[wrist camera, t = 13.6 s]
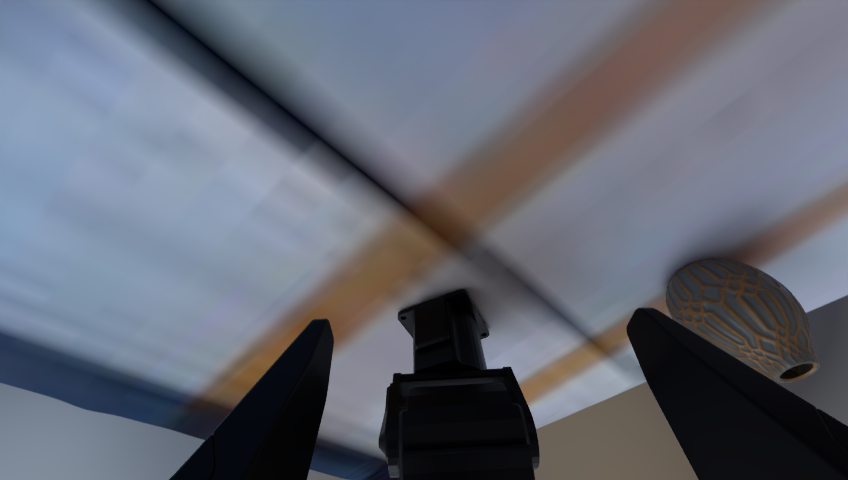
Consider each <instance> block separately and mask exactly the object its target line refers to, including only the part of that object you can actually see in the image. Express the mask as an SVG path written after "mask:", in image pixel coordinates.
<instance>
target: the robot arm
mask: <svg viewBox="0 0 848 480" xmlns="http://www.w3.org/2000/svg"><path fill="white" fill-rule="evenodd" d="M460 295H463V296H460ZM398 320H399V321H400V322H401V324H402V325H403V326H404V327H405V329H406V330H407V331H408V333H409V334H410V335H411V336H412V338H413V355H414V373H413V374H401V373H394V375H393V383H390V386H389V387H388V388H387V395H386V408H385V414H384V418H383V423H382V427H381V431H380V436H379V448H380V449H381V451H382V452H383V453H384V454H385V455H386V462H387V464H388V469H389V476H390V478H395V477H399V479H400V480H535V477H534V469H537V468H538V466H539V445H538V438H537V433H536V428H535V424H534V421H533V417H532V414H531V412H530V409H529V407H528V405H527V403H526V400H525V398H524V396H523V394H522V391H521V389H520V387H519V385H518V382H517V380H516V378H515V376H514V373H513V371H512V369H511V367H503V368H501V369H487V367H486V362H485V358H484V353H483V349H482V344H481V340H480V339H483V338H486V337H488V336H489V331H488V328H487V327H486V325H485V323H484V321H483V319H482V318H481V316H480V314H479V312H478V310H477V309H476V307H475V305H474V303H473V301H472V300H471V298H470V296H469V294H468V292H467V291H466V290H464V289H461V290H457V291H455V292H452V293H449V294H446V295H444V296H441V297H438V298H435V299H433V300H430V301H427V302H424V303H422V304H419V305H416V306H413V307H411V308H408V309H405V310H402V311H400V312H399V313H398ZM627 335H628V337H629V340H630V342H631V344H632V347H633V349H634V352H635V354H636V356H637V359H638V361H639V364H640V366H641V369H642V371H643V373H644V376H645V378H646V380H647V383H648V385H649V387H650V389H651V390H652V393H653V394H654V396H655V398H656V400H657V402H658V404H659V406H660V408H661V410H662V411H663V413H664V415H665V417H666V419H667V421H668V423H669V425H670V426H671V428H672V430H673V432H674V434H675V436H676V438H677V440H678V441H679V443H680V445H681V447H682V449H683V451H684V453H685V455H686V457H687V458H688V460H689V462H690V464H691V466H692V468H693V470H694V471H695V473H696V475H697V477H698V479H699V480H848V426H846V425H844V424H843V423H841V422H840V421H838V420H836V419H835V418H833V417H832V416H830V415H828V414H827V413H825V412H823V411H822V410H820V409H816V407H814V406H813V405H812V404H810V403H809V402H807V401H805V400H804V399H802V398H800V397H799V396H797V395H795V394H794V393H792V392H790V391H789V390H787V389H786V388H784V387H782V386H781V385H779V384H777V383H776V382H774V381H773V380H771V379H769V378H768V377H766V376H764V375H763V374H761V373H759V372H758V371H756V370H755V369H753V368H751V367H750V366H748V365H746V364H745V363H743V362H741V361H740V360H738V359H737V358H735V357H733V356H732V355H730V354H728V353H727V352H725V351H724V350H722V349H720V348H719V347H717V346H715V345H714V344H712V343H710V342H709V341H707V340H706V339H704V338H702V337H701V336H699V335H697V334H696V333H694V332H692V331H691V330H689V329H688V328H686V327H684V326H683V325H681V324H679V323H678V322H676V321H674V320H673V319H671V318H670V317H668V316H666V315H665V314H663V313H661V312H660V311H658V310H656V309H654V308H638V309H636V310H635V312H634V314H633V316H632V317H631V319H630V321H629V323H628V325H627ZM333 345H334V338H333V334H332V330H331V326H330V323H329V320H328V319H314V320H312V321H311V322H310V323H309V324H308V325H307V327H306V328H305V329H304V330H303V331H302V332H301V333H300V334H299V336H298V337H297V338H296V339H295V340H294V341H293V342H292V343H291V345H290V346H289V347H288V348H287V349H286V350H285V351H284V352H283V354H282V355H281V356H280V357H279V358H278V359H277V360H276V361H275V363H274V364H273V365H272V366H271V367H270V368H269V369H268V370H267V372H266V373H265V374H264V375H263V376H262V377H261V378H260V379H259V381H258V382H257V383H256V384H255V385H254V386H253V387H252V388H251V390H250V391H249V392H248V393H247V394H246V395H245V396H244V397H243V399H242V400H241V401H240V402H239V403H238V404H237V405H236V406H235V408H234V409H233V410H232V411H231V412H230V413H229V414H228V415H227V417H226V418H225V419H224V420H223V421H222V422H221V423H220V424H219V426H218V427H217V428H216V429H215V430H214V431H213V434H211V435H210V436H209V437H208V438H207V439H206V440H205V441H204V442H203V443H202V445H201V446H200V447H199V448H198V449H197V450H196V451H195V452H194V454H193V455H192V456H191V457H190V458H189V459H188V460H187V461H186V462H185V463H184V464H183V465H182V466H181V468H180V469H179V470H178V471H177V472H176V473H175V474H174V475H173V476H172V477H171V478H170V479H169V480H307V476H308V472H309V468H310V464H311V460H312V456H313V451H314V447H315V443H316V439H317V435H318V431H319V427H320V423H321V419H322V415H323V410H324V406H325V402H326V397H327V391H328V383H329V376H330V368H331V360H332V353H333Z"/></svg>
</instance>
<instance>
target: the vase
mask: <svg viewBox="0 0 848 480" xmlns="http://www.w3.org/2000/svg"><path fill="white" fill-rule="evenodd" d="M666 303H667V307H668V310H669V313H670V315H671V317H672V319H673V320H674V321H676V322H678V323H679V324H681V325H683V326H684V327H686V328H688V329H689V330H691V331H692V332H694V333H696V334H697V335H699V336H701V337H702V338H704V339H706V340H707V341H709V342H710V343H712V344H714V345H715V346H717V347H719V348H720V349H722V350H724V351H725V352H727V353H728V354H730V355H732V356H733V357H735V358H737V359H738V360H740V361H741V362H743V363H745V364H746V365H748V366H750V367H751V368H753V369H755V370H756V371H758V372H759V373H761V374H764V375H766V376H768V377H769V378H771V379H773V380H775V381H778V382H780V383H789V382H795V381H798V380H802V379H804V378H806V377H808V376H810V375H812V374H814V373H815V372H816V371H817V370H818V369H819V367H820V363H819V361H818V359H817V357H816V355H815V353H814V351H813V348H812V344H811V336H810V329H809V323H808V319H807V316H806V313H805V311H804V309H803V308H802V306H801V305H800V303H799V302H798V300H797V299H796V298H795V297H794V295H793V294H792V293H791V292H790V291H789V290H788V289H787V288H786V287H785V286H784V285H782V284H781V283H780V282H778V281H777V280H776V279H774V278H773V277H771V276H770V275H768V274H766V273H764V272H763V271H761V270H759V269H757V268H754V267H752V266H749V265H747V264H744V263H740V262H737V261H732V260H723V259H712V260H702V261H697V262H694V263H691V264H689V265H687V266H685V267H684V268H682V269H681V270H679V271H678V272H677V273H676V274H675V275H674V276H673V277H672V279H671V280H670V282H669V285H668V288H667V292H666Z"/></svg>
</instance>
